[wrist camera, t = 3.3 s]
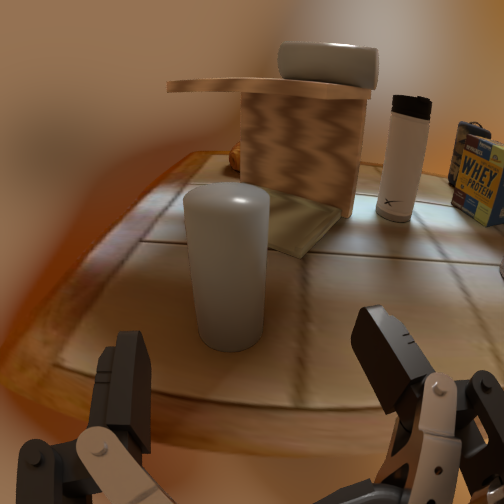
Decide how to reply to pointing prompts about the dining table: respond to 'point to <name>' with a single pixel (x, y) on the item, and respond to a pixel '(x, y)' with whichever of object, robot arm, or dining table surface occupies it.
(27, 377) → the dining table surface
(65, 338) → the dining table surface
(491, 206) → the protein box
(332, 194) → the wooden shelf stand
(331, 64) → the grey lying cylinder
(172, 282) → the dining table surface
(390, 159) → the travel mug
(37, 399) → the dining table surface
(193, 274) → the grey rounded cylinder
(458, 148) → the canister
